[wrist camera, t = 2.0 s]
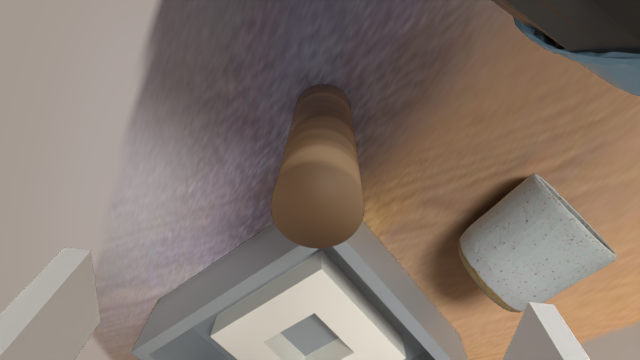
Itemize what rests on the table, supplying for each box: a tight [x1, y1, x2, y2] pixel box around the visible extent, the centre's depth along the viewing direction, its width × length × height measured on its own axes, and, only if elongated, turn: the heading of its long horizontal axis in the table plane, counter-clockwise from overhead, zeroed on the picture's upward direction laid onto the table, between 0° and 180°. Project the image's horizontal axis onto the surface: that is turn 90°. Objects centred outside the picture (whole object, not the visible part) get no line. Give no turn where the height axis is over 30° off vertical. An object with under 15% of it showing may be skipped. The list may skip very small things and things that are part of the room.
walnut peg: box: [271, 85, 364, 249], centre depth 24 cm, size 4×4×14 cm
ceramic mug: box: [458, 173, 617, 312], centre depth 31 cm, size 11×8×8 cm
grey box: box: [131, 220, 468, 360], centre depth 37 cm, size 20×20×6 cm
